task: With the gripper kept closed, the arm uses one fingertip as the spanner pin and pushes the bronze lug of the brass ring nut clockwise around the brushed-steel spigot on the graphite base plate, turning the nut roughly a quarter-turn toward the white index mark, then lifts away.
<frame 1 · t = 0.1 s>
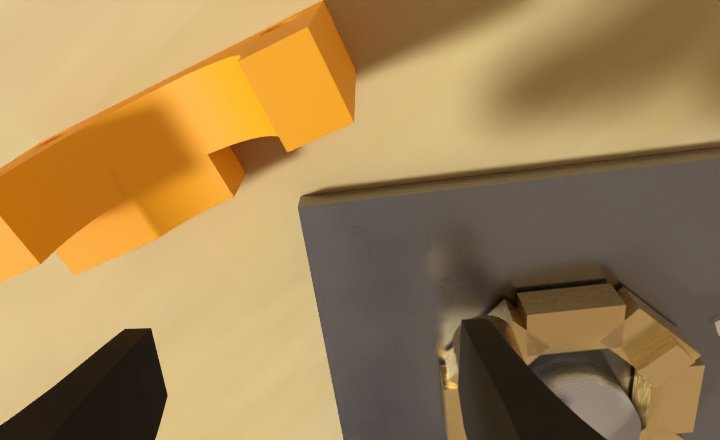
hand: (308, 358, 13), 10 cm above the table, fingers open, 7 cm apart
ring nut: (583, 436, 22), point 4 cm above the table, hinge at 0.0°
housing: (551, 367, 26), on the table
pipe clamp: (207, 126, 21), on the table
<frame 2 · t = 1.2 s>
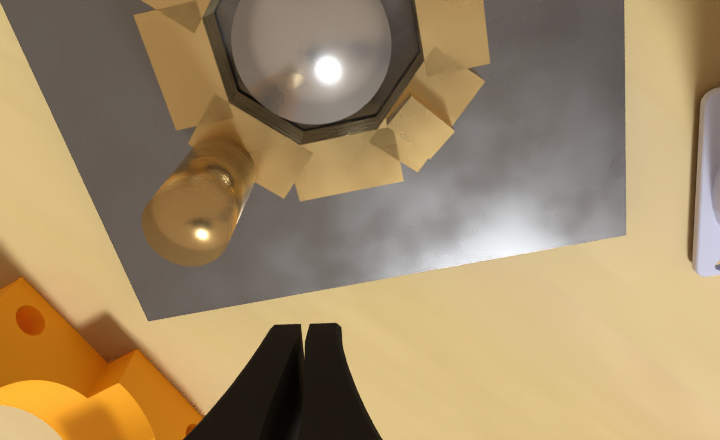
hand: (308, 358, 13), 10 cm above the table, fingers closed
ring nut: (307, 48, 16), point 4 cm above the table, hinge at 0.0°
housing: (320, 27, 20), on the table
pipe clamp: (111, 368, 27), on the table
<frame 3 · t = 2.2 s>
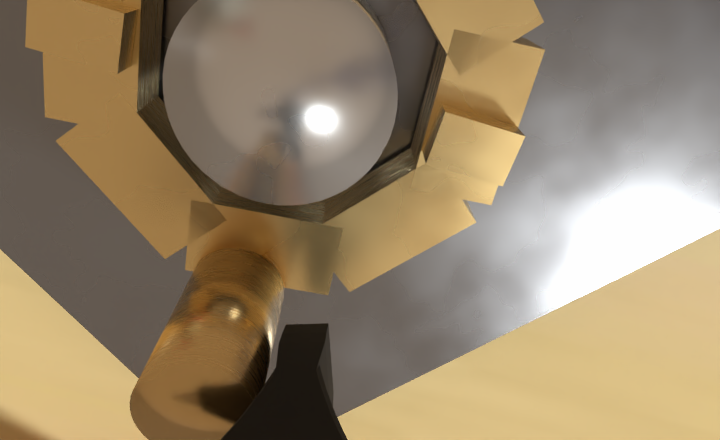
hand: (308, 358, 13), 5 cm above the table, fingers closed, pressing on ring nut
ring nut: (275, 103, 11), point 4 cm above the table, hinge at -0.3°, touching gripper
housing: (300, 60, 15), on the table
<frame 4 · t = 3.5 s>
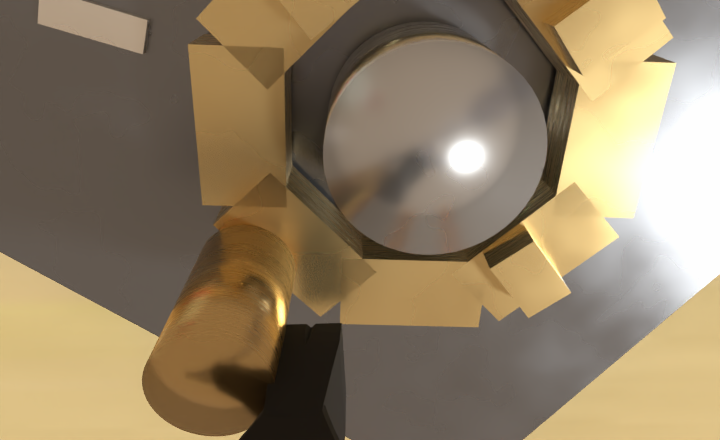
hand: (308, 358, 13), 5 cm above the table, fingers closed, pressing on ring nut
ring nut: (430, 158, 12), point 4 cm above the table, hinge at -55.4°, touching gripper
housing: (415, 106, 15), on the table
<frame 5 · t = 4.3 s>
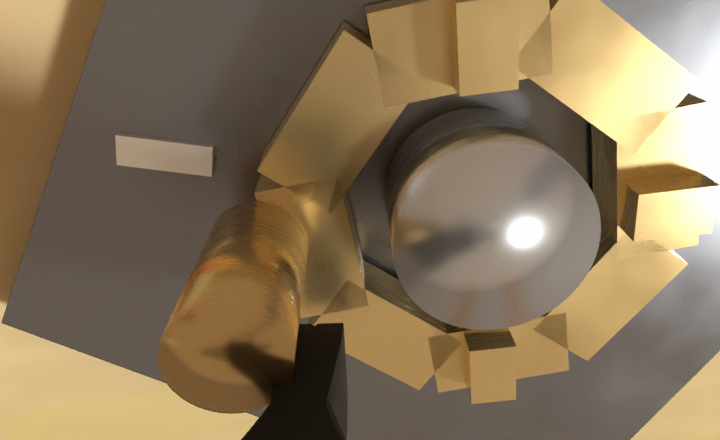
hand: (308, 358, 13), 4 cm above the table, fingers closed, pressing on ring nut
ring nut: (493, 245, 12), point 4 cm above the table, hinge at -95.2°, touching gripper
housing: (462, 178, 16), on the table
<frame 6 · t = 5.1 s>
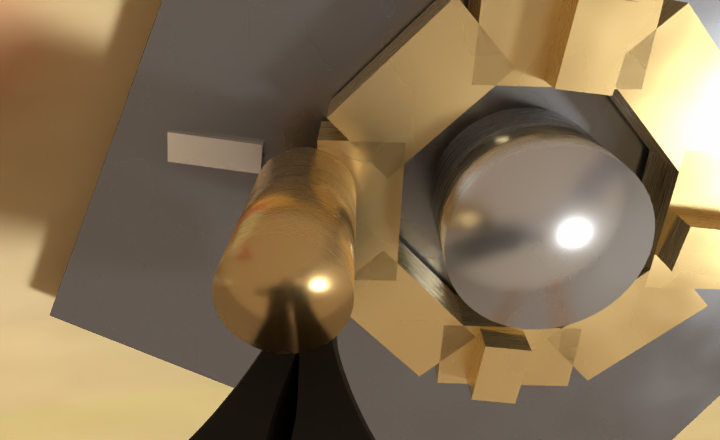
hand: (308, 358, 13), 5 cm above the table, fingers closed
ring nut: (547, 244, 12), point 4 cm above the table, hinge at -108.4°
housing: (507, 177, 16), on the table
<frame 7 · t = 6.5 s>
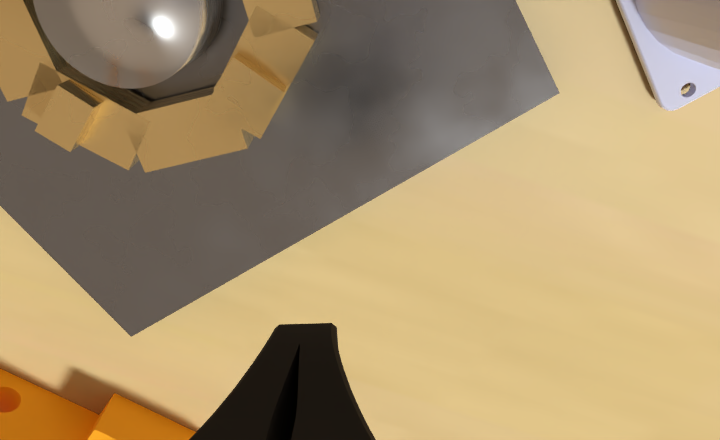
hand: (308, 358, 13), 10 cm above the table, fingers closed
ring nut: (113, 2, 16), point 4 cm above the table, hinge at -108.4°
pipe clamp: (107, 418, 29), on the table
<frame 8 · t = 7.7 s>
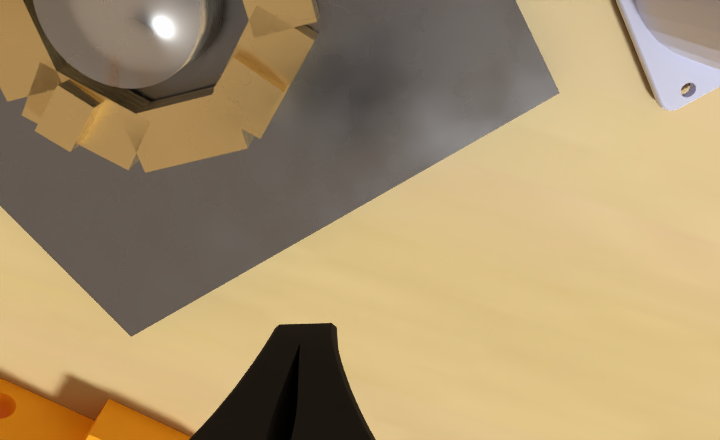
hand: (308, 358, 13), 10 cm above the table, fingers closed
ring nut: (113, 2, 16), point 4 cm above the table, hinge at -108.4°
pipe clamp: (102, 423, 29), on the table
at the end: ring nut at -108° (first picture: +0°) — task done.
